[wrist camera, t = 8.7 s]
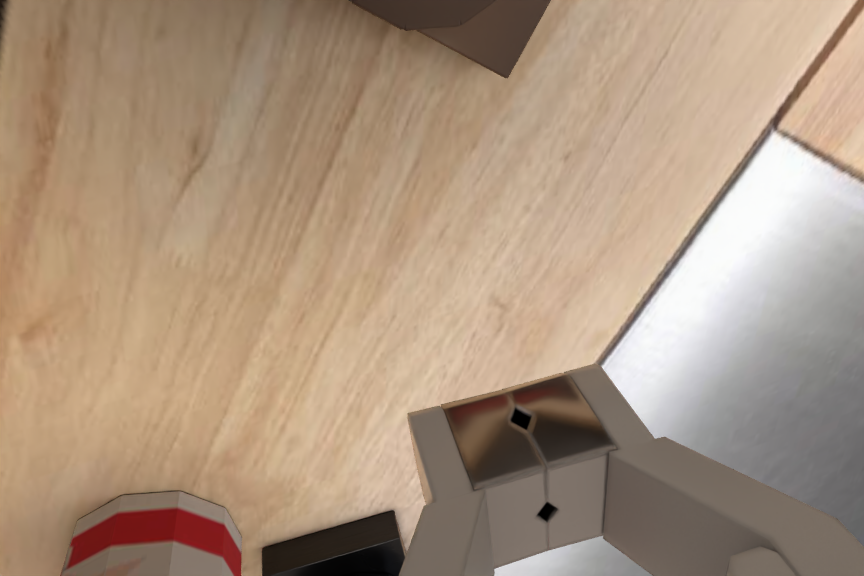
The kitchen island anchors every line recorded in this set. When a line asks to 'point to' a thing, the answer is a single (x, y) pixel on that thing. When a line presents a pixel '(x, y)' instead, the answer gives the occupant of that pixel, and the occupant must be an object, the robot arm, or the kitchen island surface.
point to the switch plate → (341, 551)
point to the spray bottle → (155, 538)
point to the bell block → (467, 25)
